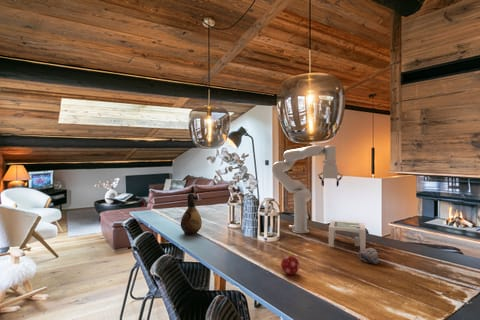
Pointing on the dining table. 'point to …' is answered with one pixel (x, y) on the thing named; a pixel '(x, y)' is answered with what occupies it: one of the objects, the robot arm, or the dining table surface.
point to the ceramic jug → (191, 218)
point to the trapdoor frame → (361, 230)
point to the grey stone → (357, 241)
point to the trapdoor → (345, 226)
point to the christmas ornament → (290, 264)
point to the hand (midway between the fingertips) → (330, 186)
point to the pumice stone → (369, 256)
